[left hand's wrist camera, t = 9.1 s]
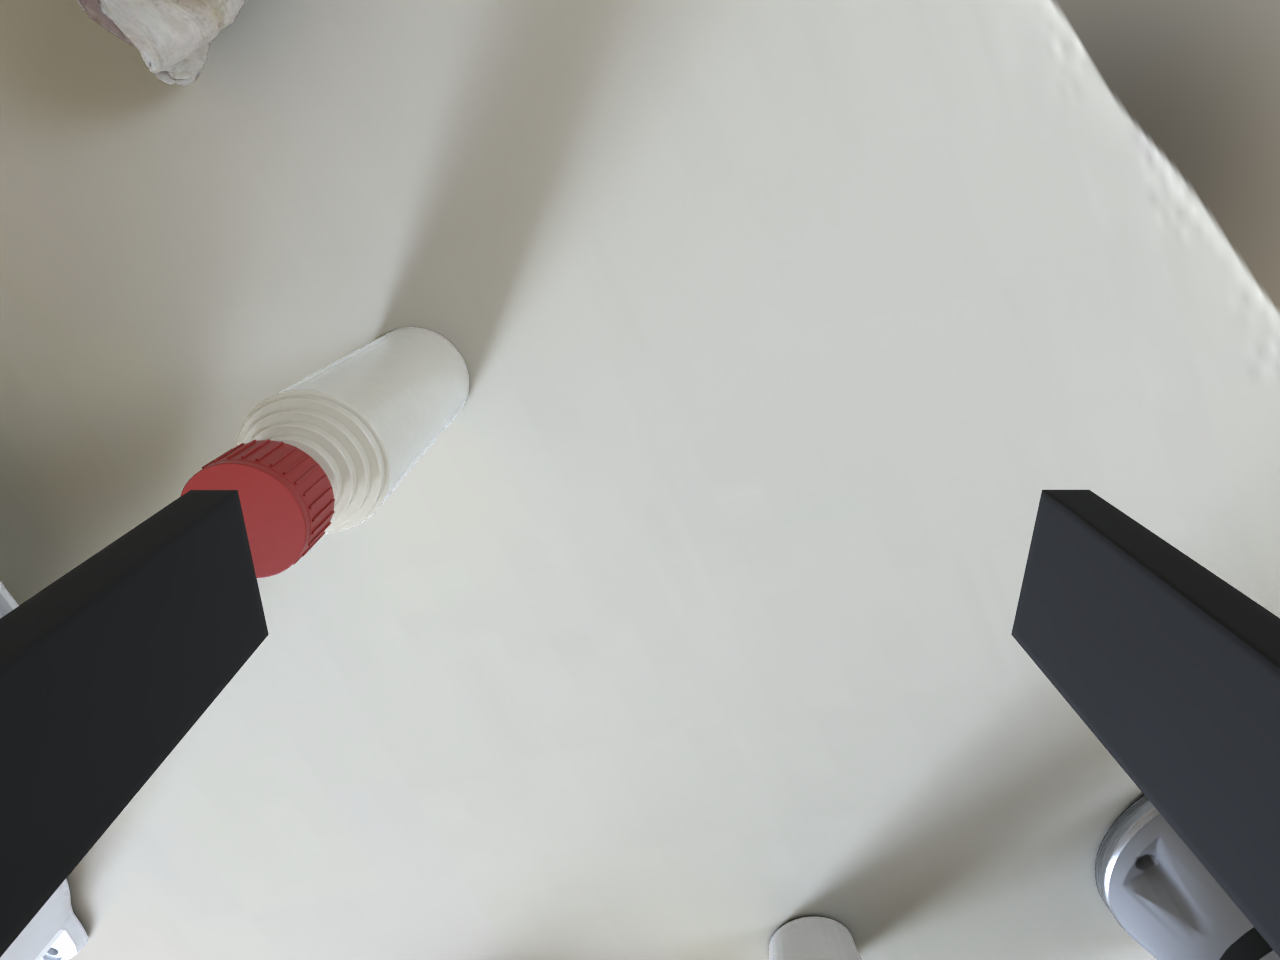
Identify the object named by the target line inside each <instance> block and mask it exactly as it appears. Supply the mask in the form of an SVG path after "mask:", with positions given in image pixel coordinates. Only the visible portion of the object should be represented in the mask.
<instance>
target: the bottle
mask: <svg viewBox="0 0 1280 960" xmlns="http://www.w3.org/2000/svg"><path fill="white" fill-rule="evenodd" d="M468 393H469V374H468V370H467V367H466V364H465V362H464V360H463V358H462V356H461V354H460V353H459V352H458V350H457V349H456V348H455V347H454V346H453V345H452V344H451V343H450V342H449V341H448V340H447V339H445V338H444V337H442V336H441V335H439V334H437V333H435V332H433V331H430V330H427V329H423V328H417V327H405V328H400V329H396V330H394V331H391V332H389V333H387V334H385V335H383V336H382V337H380V338H378V339H376V340H374V341H372V342H371V343H369V344H367V345H365V346H363V347H361V348H360V349H358V350H356V351H354V352H352V353H350V354H348V355H347V356H345V357H343V358H341V359H339V360H337V361H336V362H334V363H332V364H330V365H328V366H326V367H325V368H323V369H321V370H319V371H317V372H315V373H313V374H312V375H310V376H308V377H306V378H304V379H302V380H301V381H299V382H297V383H295V384H293V385H291V386H290V387H288V388H286V389H284V390H282V391H280V392H279V393H277V394H275V395H273V396H271V397H269V398H267V399H266V400H264V401H263V402H261V403H260V404H259V405H258V406H257V407H256V408H254V409H253V410H252V412H251V413H250V414H249V416H248V417H247V418H246V420H245V422H244V424H243V426H242V429H241V431H240V433H239V436H238V439H237V443H236V446H238V445H240V444H241V443H244V444H246V443H249V442H251V441H253V440H256V441H258V440H267V439H270V440H273V441H279V442H281V441H282V442H284V443H287V444H290V445H292V446H295V447H297V448H299V449H300V450H302V451H304V452H305V453H307V454H308V455H309V456H311V457H312V458H313V459H314V460H315V461H316V462H317V463H318V464H319V465H320V466H321V468H322V469H323V470H324V472H325V473H326V475H327V476H328V479H329V481H330V483H331V486H332V488H333V494H334V499H335V502H334V511H335V512H334V514H333V516H332V519H331V521H330V522H331V525H330V526H329V527H328V528H327V529H326V530H325V531H324V532H325V534H329V533H335V532H339V531H343V530H347V529H350V528H353V527H355V526H357V525H359V524H361V523H363V522H364V521H366V520H367V519H368V518H370V517H371V516H372V515H373V514H374V513H375V512H376V511H377V510H378V508H379V507H380V506H381V505H382V504H383V502H384V501H385V500H386V499H387V498H388V497H389V495H390V494H391V493H392V492H393V491H394V489H395V488H396V487H397V486H398V485H399V483H400V482H401V481H402V480H403V479H404V478H405V476H406V475H407V474H408V473H409V472H410V470H411V469H412V468H413V467H414V466H415V465H416V463H417V462H418V461H419V460H420V459H421V457H422V456H423V455H424V454H425V453H426V452H427V450H428V449H429V448H430V447H431V446H432V444H433V443H434V442H435V441H436V440H437V439H438V437H439V436H440V435H441V434H442V433H443V431H444V430H445V429H446V428H447V427H448V425H449V424H450V423H451V422H452V421H453V420H454V418H455V417H456V416H457V415H458V414H459V412H460V411H461V410H462V408H463V407H464V405H465V403H466V400H467V397H468Z"/></svg>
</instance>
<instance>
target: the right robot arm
mask: <svg viewBox="0 0 1280 960" xmlns="http://www.w3.org/2000/svg"><path fill="white" fill-rule="evenodd" d="M18 606H19V605H18V604H17V602H16V601H15V600H14V598H13V597H12V596H11V595H10V593H9V592H8V591H7V589H6V588H5V587H4V585H3V584H2V583H1V581H0V618H2V617H3V616H5V615H6V614H8V613H9V612H11V611H12V610H14V609H15V608H17V607H18ZM87 941H88V937H87V934H86V931H85V930H84V928H83V926H82V925H81V923H80V922H79V920H78V919H77V917H76V916H75V914H74V913H73V910H72V906H71V898H70V890H69V885H68V882H67V879H65V880H64V881H63V883H62V884H61V885H60V886H59V887H58V889H57V890H56V891H55V892H54V893H53V895H52V896H51V897H50V898H49V900H48V901H47V902H46V903H45V904H44V906H43V907H42V908H41V909H40V910H39V912H38V913H37V914H36V915H35V916H34V918H33V919H32V920H31V921H30V922H29V924H28V925H27V926H26V927H25V928H24V930H23V931H22V932H21V933H20V934H19V936H18V937H17V938H16V939H15V940H14V942H13V943H12V944H11V945H10V947H9V948H8V949H7V950H6V951H5V953H4V954H3V955H2V956H1V957H0V960H68V959H70V958H72V957H74V956H75V955H76V954H77V953H78V952H79V951H80V950H81V949H82V947H83V946H84V945H85V944H86V943H87Z"/></svg>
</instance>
